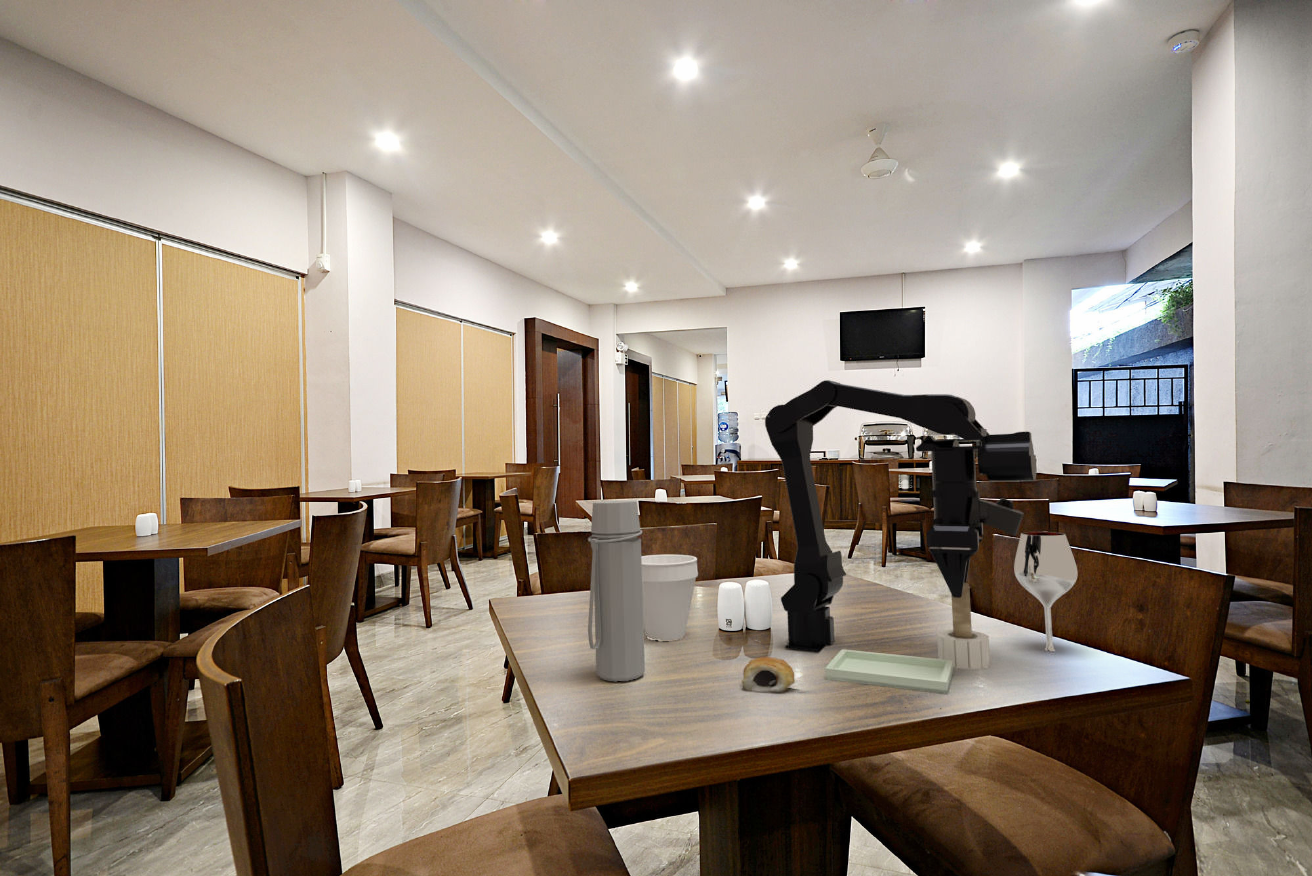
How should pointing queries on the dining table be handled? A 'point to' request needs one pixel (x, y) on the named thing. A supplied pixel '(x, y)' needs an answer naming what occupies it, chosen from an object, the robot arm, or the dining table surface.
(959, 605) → the dowel
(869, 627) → the dining table surface
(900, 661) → the tray
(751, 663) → the pastry
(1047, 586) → the wineglass
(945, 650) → the holder
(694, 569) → the cup
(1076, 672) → the dining table surface
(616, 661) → the water bottle
